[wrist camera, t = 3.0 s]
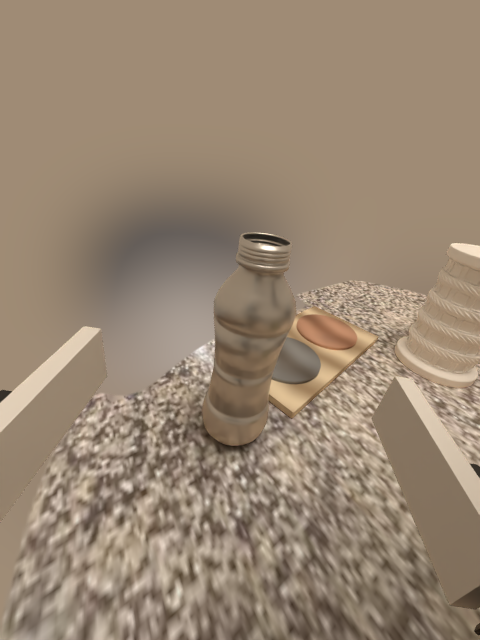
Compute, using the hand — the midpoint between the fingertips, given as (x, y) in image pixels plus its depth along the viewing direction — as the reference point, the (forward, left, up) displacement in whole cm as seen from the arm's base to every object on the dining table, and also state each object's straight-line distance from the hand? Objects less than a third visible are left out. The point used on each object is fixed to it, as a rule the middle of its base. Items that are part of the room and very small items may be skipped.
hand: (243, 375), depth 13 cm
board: (-27, -9, -16) cm, 33 cm away
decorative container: (-42, +6, -16) cm, 45 cm away
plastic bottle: (-8, -6, -16) cm, 19 cm away
